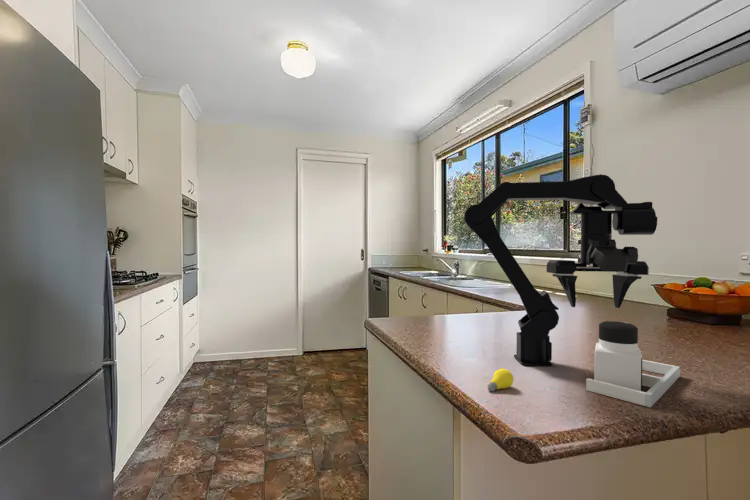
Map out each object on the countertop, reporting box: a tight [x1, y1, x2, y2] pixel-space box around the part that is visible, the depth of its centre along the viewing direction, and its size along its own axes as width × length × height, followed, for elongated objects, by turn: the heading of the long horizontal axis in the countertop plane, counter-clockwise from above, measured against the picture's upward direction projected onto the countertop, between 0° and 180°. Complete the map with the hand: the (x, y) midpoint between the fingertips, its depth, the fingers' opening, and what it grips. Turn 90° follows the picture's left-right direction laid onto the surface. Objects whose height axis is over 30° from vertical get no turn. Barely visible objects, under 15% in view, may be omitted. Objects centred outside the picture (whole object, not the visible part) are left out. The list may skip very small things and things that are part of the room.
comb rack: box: [585, 359, 681, 408], centre depth 71 cm, size 22×10×2 cm, turn 131°
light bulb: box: [487, 368, 514, 392], centre depth 68 cm, size 3×6×4 cm, turn 124°
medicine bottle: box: [593, 320, 643, 392], centre depth 69 cm, size 7×7×12 cm
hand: (595, 307), depth 80 cm, fingers open, 9 cm apart
